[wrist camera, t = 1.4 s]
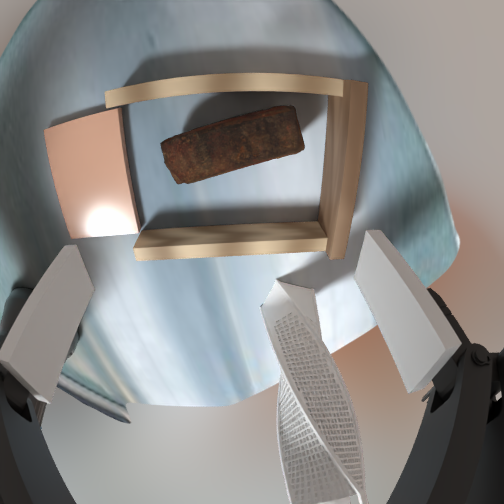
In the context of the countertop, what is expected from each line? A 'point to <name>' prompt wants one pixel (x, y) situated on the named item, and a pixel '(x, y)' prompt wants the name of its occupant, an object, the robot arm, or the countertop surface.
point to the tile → (93, 175)
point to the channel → (283, 233)
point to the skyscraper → (311, 405)
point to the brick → (233, 144)
